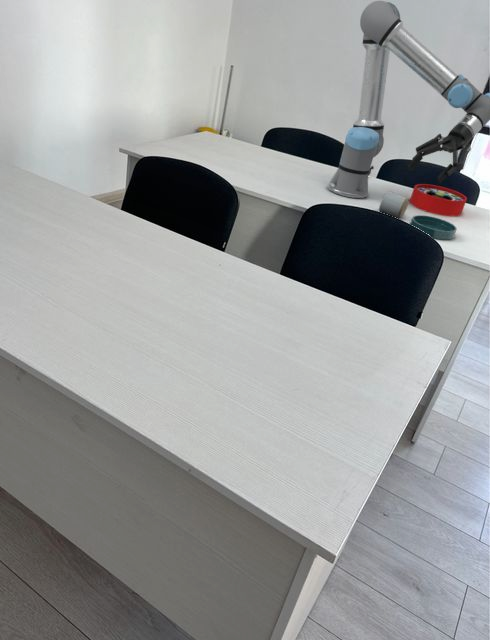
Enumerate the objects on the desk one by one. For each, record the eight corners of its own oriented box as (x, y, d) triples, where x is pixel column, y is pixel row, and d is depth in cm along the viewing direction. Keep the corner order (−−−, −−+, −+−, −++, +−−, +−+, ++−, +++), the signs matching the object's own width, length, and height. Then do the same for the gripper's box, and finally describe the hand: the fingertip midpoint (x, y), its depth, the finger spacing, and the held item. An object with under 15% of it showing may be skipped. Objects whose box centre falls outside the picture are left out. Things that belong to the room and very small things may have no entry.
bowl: (411, 220, 208) (414, 212, 206) (454, 231, 204) (457, 223, 202) (406, 231, 196) (409, 222, 194) (452, 243, 192) (455, 235, 190)
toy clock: (435, 200, 213) (404, 182, 229) (429, 215, 216) (399, 197, 232) (478, 202, 220) (445, 185, 236) (472, 217, 223) (440, 199, 239)
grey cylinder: (398, 220, 205) (406, 199, 201) (376, 213, 208) (383, 192, 204) (407, 214, 213) (414, 194, 209) (385, 208, 216) (392, 187, 212)
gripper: (434, 114, 213) (394, 156, 213) (493, 132, 197) (450, 177, 197) (438, 130, 219) (399, 170, 219) (496, 148, 202) (454, 192, 202)
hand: (423, 174), depth 208 cm, fingers open, 13 cm apart
